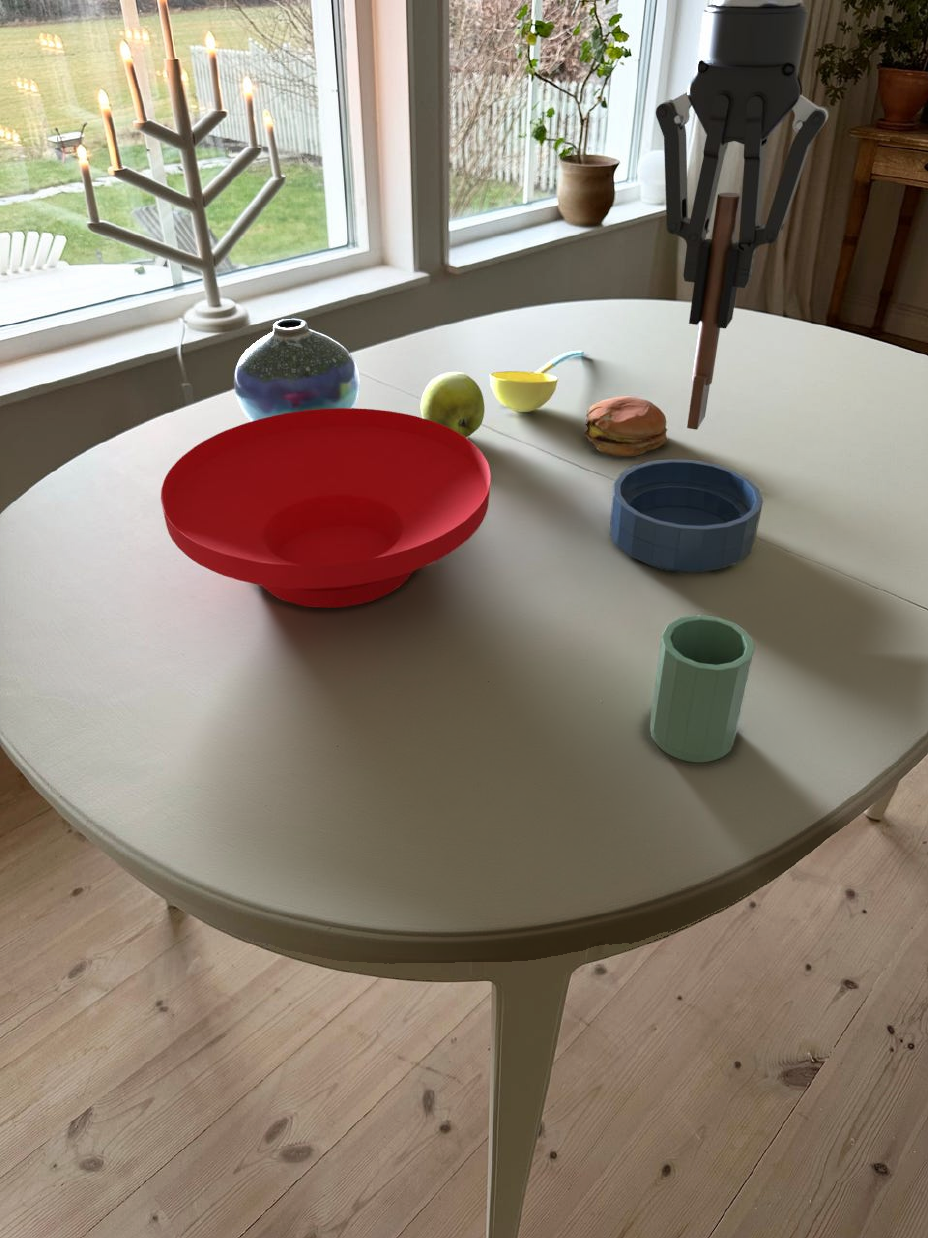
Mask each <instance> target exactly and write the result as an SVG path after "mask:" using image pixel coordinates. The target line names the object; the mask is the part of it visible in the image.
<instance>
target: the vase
mask: <svg viewBox="0 0 928 1238" xmlns="http://www.w3.org/2000/svg"><path fill="white" fill-rule="evenodd" d="M272 326H273V327H272V332H270V333H268V334H267V335H264V336H263V337H261V338H260V339H259V340H257V341H256V342H255V343H253V344H252V345H251V346H250V347H249V348H247V349H246V350H245V351H244V353H243V354H242V355H241V356H240V358H239V359H238V362H237V364H236V366H235V370H234V375H233V386H234V392H235V396H236V399H237V403H238V404H239V407H240V408H241V410H242V412H243V414H244V415H245V416H246V417H247V419H249V420H250V422H251V421H255V420H258V419H262V418H267V417H271V416H275V415H280V414H285V413H292V412H298V411H306V410H317V409H335V408H355V406H356V403H357V401H358V398H359V393H360V374H359V369H358V367H357V363H356V361H355V360H354V358H353V356H352V355H351V353H350V352H349V351H348V350H347V349H346V347H345V346H343V344H341V343H340V342H339V341H337V340H335V339H333V338H331V337H329V336H328V335H325V334H324V333H320V332H318V331H315V330H312V329H310V328H309V326H308V323H307V321H306V320H303V319H300V318H291V319H290V318H289V319H281V320H279V321H276V322H275V323H274V324H273V325H272Z"/></svg>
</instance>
